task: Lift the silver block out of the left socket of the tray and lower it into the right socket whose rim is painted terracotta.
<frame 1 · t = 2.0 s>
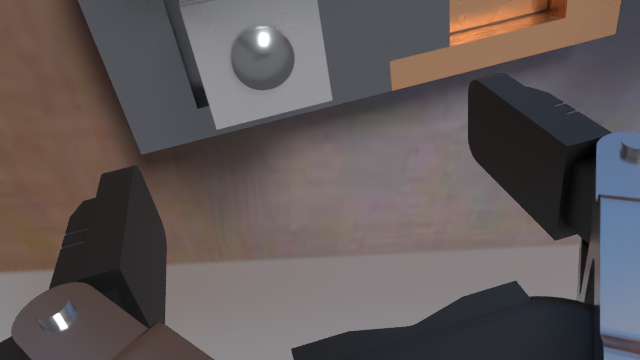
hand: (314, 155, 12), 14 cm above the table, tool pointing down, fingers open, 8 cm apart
silver block: (243, 17, 23), point 1 cm above the table, touching tray
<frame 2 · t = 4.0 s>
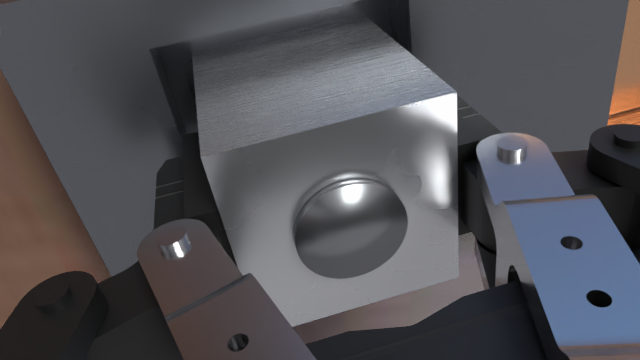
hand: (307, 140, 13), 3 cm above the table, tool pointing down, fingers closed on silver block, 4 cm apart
silver block: (294, 110, 14), point 1 cm above the table, touching gripper, tray
tray: (475, 50, 16), on the table
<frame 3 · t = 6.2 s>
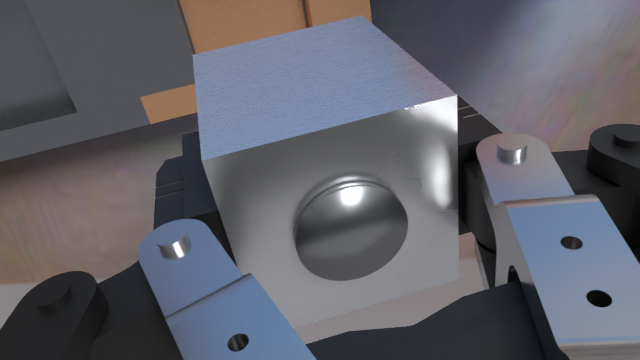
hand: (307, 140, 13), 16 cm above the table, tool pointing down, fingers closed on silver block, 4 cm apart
silver block: (294, 112, 14), point 14 cm above the table, touching gripper
tray: (121, 22, 25), on the table
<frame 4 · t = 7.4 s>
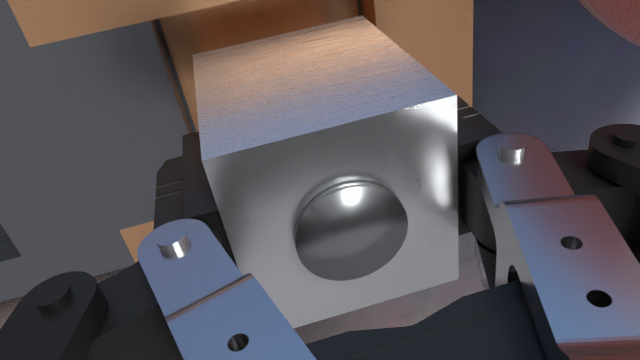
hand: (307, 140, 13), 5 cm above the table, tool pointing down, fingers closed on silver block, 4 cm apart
silver block: (294, 112, 14), point 3 cm above the table, touching gripper
tray: (91, 113, 17), on the table
when the fingers open (3 cm above the table, at t = 8.5 s): silver block stays where it is, resting on tray.
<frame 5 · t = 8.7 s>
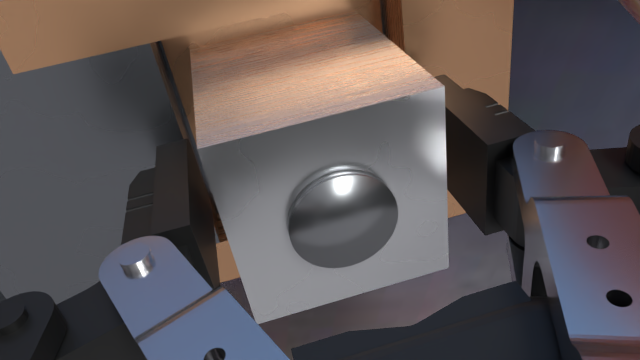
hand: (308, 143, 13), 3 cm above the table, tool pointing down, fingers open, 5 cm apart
silver block: (290, 106, 15), point 1 cm above the table, touching tray
tray: (85, 140, 15), on the table
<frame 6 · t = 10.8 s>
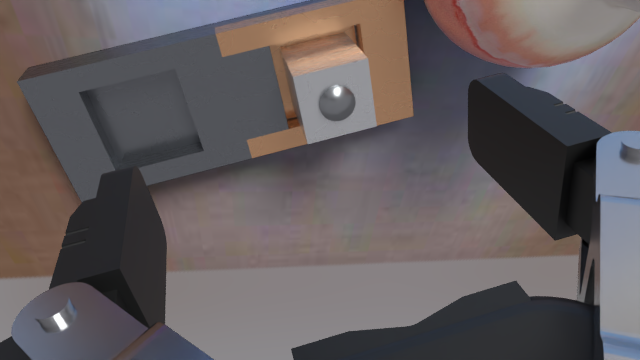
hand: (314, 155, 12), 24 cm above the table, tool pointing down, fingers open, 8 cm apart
silver block: (318, 71, 35), point 1 cm above the table, touching tray
tray: (232, 86, 36), on the table
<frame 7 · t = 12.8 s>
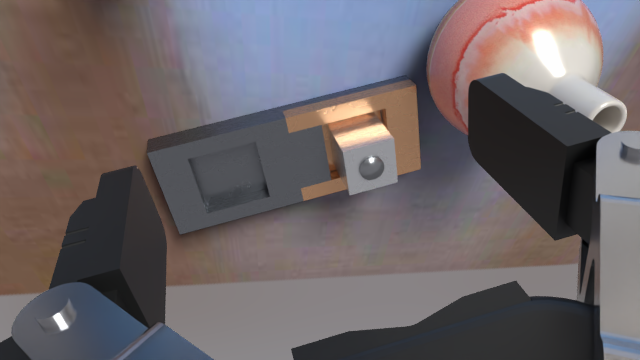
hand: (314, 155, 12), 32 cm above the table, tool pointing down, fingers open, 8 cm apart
silver block: (353, 138, 49), point 1 cm above the table, touching tray
tray: (290, 148, 49), on the table
vase: (474, 41, 48), on the table
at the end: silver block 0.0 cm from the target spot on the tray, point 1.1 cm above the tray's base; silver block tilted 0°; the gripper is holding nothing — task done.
